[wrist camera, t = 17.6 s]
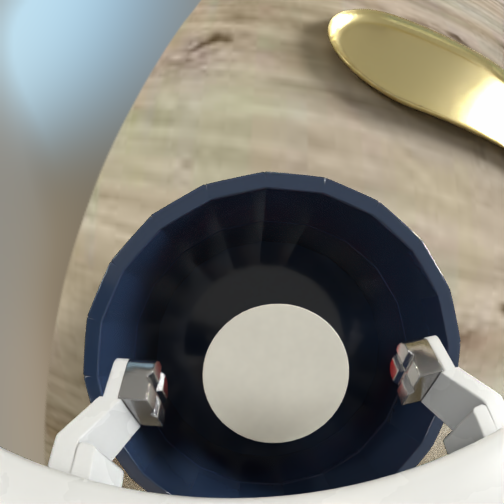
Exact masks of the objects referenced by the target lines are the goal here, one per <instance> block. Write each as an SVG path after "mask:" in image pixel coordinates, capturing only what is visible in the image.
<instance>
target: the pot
mask: <svg viewBox="0 0 504 504" xmlns="http://www.w3.org/2000/svg"><path fill="white" fill-rule="evenodd" d="M151 216H152V217H149V218H148V220H147V221H146V222H145V223H144V224H143V225H142V226H141V227H140V228H139V229H138V230H137V232H136V233H135V234H134V235H133V236H132V237H131V238H130V239H129V241H128V242H127V243H126V244H125V245H124V246H123V247H122V249H121V250H120V251H119V252H118V253H117V254H116V256H115V257H114V258H113V259H112V261H111V262H110V263H109V266H108V268H107V270H106V272H105V275H104V277H103V279H102V282H101V284H100V286H99V289H98V291H97V293H96V296H95V298H94V301H93V303H92V306H91V308H90V311H89V313H88V318H87V323H86V335H85V350H84V373H83V374H84V380H85V384H86V388H87V392H88V396H89V399H90V403H92V402H93V401H94V400H96V399H97V398H98V397H99V396H102V397H103V394H104V391H105V388H106V385H107V381H108V378H109V375H110V372H111V369H112V366H113V363H114V361H115V360H116V359H117V358H123V359H136V360H151V361H159V362H160V364H161V366H162V369H161V372H162V373H163V374H165V376H166V378H167V382H168V397H167V400H166V401H165V402H164V403H163V404H162V405H163V407H164V409H165V410H166V411H165V417H164V424H163V426H147V425H140V428H139V429H138V430H137V431H136V432H135V434H134V435H133V436H132V437H131V438H130V440H129V441H128V442H127V443H126V445H125V446H124V447H123V448H122V449H121V451H120V452H119V453H118V454H117V455H116V458H117V460H118V461H119V463H120V464H121V466H122V467H123V468H124V470H125V471H126V472H127V474H128V475H129V476H130V478H131V479H133V481H135V482H136V483H137V484H138V485H140V486H141V487H142V488H143V489H145V490H146V491H147V492H152V493H159V494H168V495H177V496H189V497H205V498H257V497H274V496H285V495H295V494H303V493H311V492H317V491H324V490H329V489H335V488H340V487H345V486H350V485H354V484H359V483H363V482H367V481H371V480H375V479H379V478H382V477H386V476H389V475H393V474H396V473H399V472H402V471H405V470H408V469H411V468H414V467H416V466H417V465H418V464H419V462H420V461H421V460H422V459H423V458H424V456H425V455H426V454H427V453H428V452H429V450H430V449H431V447H432V446H433V444H434V442H435V440H436V438H437V436H438V434H439V431H440V429H441V427H442V425H443V423H444V422H443V421H442V420H440V419H439V418H438V417H437V416H436V415H435V414H434V413H433V412H432V411H431V410H429V409H428V408H427V407H426V406H425V405H424V404H423V403H422V402H421V401H418V402H414V403H410V404H406V405H402V404H401V402H400V399H399V396H398V394H397V388H398V385H397V384H396V383H394V382H393V381H392V378H391V375H390V362H391V359H392V357H393V356H394V355H396V354H397V351H396V348H397V346H398V344H399V343H400V342H404V341H409V340H414V339H418V338H425V337H429V336H434V335H436V336H437V337H438V338H439V340H440V341H441V343H442V345H443V347H444V348H445V350H446V352H447V354H448V355H449V357H450V359H451V361H452V363H453V364H454V366H455V368H456V367H458V363H459V353H460V336H459V330H458V325H457V319H456V314H455V310H454V305H453V300H452V296H451V292H450V288H449V286H448V285H447V283H446V281H445V279H444V277H443V275H442V273H441V272H440V270H439V268H438V266H437V265H436V263H435V261H434V259H433V258H432V256H431V254H430V253H429V251H428V249H427V247H426V246H425V244H424V243H423V241H422V240H421V239H420V238H419V237H418V236H417V235H416V234H415V233H414V232H413V231H412V230H411V229H410V228H409V227H408V226H406V225H405V224H404V223H403V222H402V221H401V220H400V219H399V218H398V217H396V216H395V215H394V214H393V213H392V212H391V211H390V210H388V209H387V208H386V207H385V206H384V205H383V204H382V203H380V202H379V203H378V201H377V200H375V199H373V198H371V197H369V196H366V195H364V194H362V193H360V192H358V191H355V190H353V189H351V188H348V187H346V186H344V185H342V184H339V183H337V182H335V181H332V180H330V179H327V178H324V177H317V176H308V175H299V174H289V173H278V172H261V173H256V174H251V175H246V176H241V177H236V178H232V179H227V180H222V181H218V182H214V183H209V184H206V185H202V186H200V187H199V188H197V189H195V190H193V191H191V192H190V193H188V194H186V195H184V196H183V197H181V198H179V199H178V200H176V201H174V202H172V203H171V204H169V205H167V206H166V207H164V208H162V209H160V210H159V211H157V212H155V213H154V214H152V215H151ZM268 304H288V305H294V306H298V307H301V308H304V309H307V310H309V311H311V312H313V313H315V314H317V315H318V316H320V317H321V318H322V319H324V320H325V321H326V322H327V323H328V324H329V325H330V326H331V327H332V328H333V329H334V330H335V331H336V333H337V334H338V336H339V337H340V339H341V341H342V343H343V345H344V347H345V350H346V354H347V357H348V364H349V379H348V385H347V389H346V393H345V395H344V398H343V400H342V402H341V404H340V406H339V407H338V409H337V411H336V412H335V413H334V414H333V416H332V417H331V418H330V419H329V420H328V421H327V422H326V423H325V424H324V425H323V426H321V427H320V428H319V429H317V430H316V431H314V432H313V433H311V434H309V435H307V436H305V437H302V438H300V439H296V440H293V441H289V442H283V443H265V442H259V441H254V440H251V439H248V438H245V437H243V436H241V435H239V434H237V433H235V432H234V431H232V430H231V429H229V428H228V427H227V426H226V425H225V424H224V423H222V422H221V420H220V419H219V418H218V417H217V416H216V414H215V413H214V412H213V410H212V409H211V407H210V405H209V403H208V401H207V398H206V395H205V392H204V386H203V374H202V373H203V364H204V360H205V356H206V353H207V350H208V348H209V345H210V344H211V342H212V340H213V338H214V337H215V336H216V334H217V333H218V332H219V330H220V329H221V328H222V327H223V326H224V325H225V324H226V323H227V322H229V321H230V320H231V319H233V318H234V317H235V316H237V315H239V314H240V313H242V312H244V311H247V310H249V309H251V308H255V307H258V306H262V305H268Z"/></svg>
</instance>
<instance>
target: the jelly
mask: <svg viewBox="0 0 504 504" xmlns="http://www.w3.org/2000/svg"><path fill="white" fill-rule="evenodd" d="M202 374H203V386H204V392H205V395H206V398H207V401H208V403H209V405H210V407H211V409H212V410H213V412H214V413H215V414H216V416H217V417H218V418H219V419H220V420H221V422H222V423H224V424H225V425H226V426H227V427H228V428H229V429H231V430H232V431H234V432H235V433H237V434H239V435H241V436H243V437H245V438H248V439H251V440H254V441H259V442H265V443H283V442H289V441H293V440H296V439H300V438H302V437H305V436H307V435H309V434H311V433H313V432H314V431H316V430H317V429H319V428H320V427H321V426H323V425H324V424H325V423H326V422H327V421H328V420H329V419H330V418H331V417H332V416H333V414H334V413H335V412H336V411H337V409H338V407H339V406H340V404H341V402H342V400H343V398H344V395H345V393H346V389H347V385H348V379H349V364H348V357H347V354H346V350H345V347H344V345H343V343H342V341H341V339H340V337H339V336H338V334H337V333H336V331H335V330H334V329H333V328H332V327H331V326H330V325H329V324H328V323H327V322H326V321H325V320H324V319H322V318H321V317H320V316H318V315H317V314H315V313H313V312H311V311H309V310H307V309H304V308H301V307H298V306H294V305H288V304H268V305H262V306H258V307H255V308H251V309H249V310H247V311H244V312H242V313H240V314H239V315H237V316H235V317H234V318H233V319H231V320H230V321H229V322H227V323H226V324H225V325H224V326H223V327H222V328H221V329H220V330H219V332H218V333H217V334H216V336H215V337H214V338H213V340H212V342H211V344H210V345H209V348H208V350H207V353H206V356H205V360H204V364H203V373H202Z"/></svg>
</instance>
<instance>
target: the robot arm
mask: <svg viewBox="0 0 504 504" xmlns="http://www.w3.org/2000/svg"><path fill="white" fill-rule="evenodd" d="M396 351H397V354H396V355H394V356H393V357H392V359H391V362H390V375H391V378H392V381H393V382H394V383H396V384H397V385H398V388H397V394H398V396H399V399H400V402H401V404H402V405H406V404H410V403H414V402H418V401H421V402H422V403H423V404H424V405H425V406H426V407H427V408H428V409H429V410H431V411H432V412H433V413H434V414H435V415H436V416H437V417H438V418H439V419H440V420H442V421H443V422H444V423H445V424H446V425H447V426H448V427H449V428H450V429H451V430H452V431H451V432H450V433H449V434H448V435H447V436H446V437H445V439H444V441H443V442H444V445H445V448H446V451H447V454H448V455H446V456H443V457H441V458H438V459H436V460H433V461H431V462H428V463H425V464H423V465H420V466H417V467H414V468H411V469H408V470H405V471H402V472H399V473H396V474H393V475H389V476H386V477H382V478H379V479H375V480H371V481H367V482H363V483H359V484H354V485H350V486H345V487H340V488H335V489H329V490H324V491H317V492H311V493H303V494H295V495H285V496H274V497H257V498H205V497H189V496H177V495H168V494H159V493H152V492H145V491H139V490H133V489H128V488H123V487H122V483H123V476H124V472H123V470H122V469H121V468H120V467H118V466H117V465H116V464H115V463H113V462H112V460H113V459H114V458H115V457H116V455H117V454H118V453H119V452H120V451H121V449H122V448H123V447H124V446H125V445H126V443H127V442H128V441H129V440H130V438H131V437H132V436H133V435H134V434H135V432H136V431H137V430H138V429H139V428H140V425H147V426H163V424H164V417H165V411H166V410H165V409H164V407H163V405H162V404H163V403H164V402H165V401H166V400H167V397H168V382H167V378H166V376H165V374H163V373H162V372H161V369H162V366H161V364H160V362H159V361H151V360H136V359H123V358H117V359H116V360H115V361H114V363H113V366H112V369H111V372H110V375H109V378H108V381H107V385H106V388H105V391H104V394H103V397H102V396H99V397H98V398H97V399H96V400H94V401H93V402H92V403H91V404H90V405H89V406H88V407H87V408H85V409H84V410H83V411H82V412H81V413H80V414H79V415H78V416H77V417H75V418H74V419H73V420H72V421H71V422H70V423H69V424H68V425H66V426H65V427H64V428H63V429H62V430H61V431H60V432H59V433H58V434H57V435H56V438H55V441H54V445H53V448H52V452H51V455H50V459H49V462H48V466H45V465H42V464H39V463H37V462H34V461H32V460H29V459H27V458H25V457H22V456H20V455H17V454H15V453H13V452H11V451H8V450H6V449H4V448H2V447H0V504H504V401H503V399H502V397H501V395H500V394H499V393H497V392H496V391H494V390H493V389H491V388H490V387H488V386H487V385H485V384H484V383H482V382H481V381H479V380H478V379H476V378H474V377H473V376H471V375H470V374H468V373H467V372H465V371H464V370H462V369H461V368H459V367H456V368H455V366H454V364H453V363H452V361H451V359H450V357H449V355H448V354H447V352H446V350H445V348H444V347H443V345H442V343H441V341H440V340H439V338H438V337H437V336H436V335H434V336H429V337H425V338H418V339H414V340H409V341H404V342H400V343H399V344H398V346H397V348H396Z"/></svg>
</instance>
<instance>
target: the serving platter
mask: <svg viewBox="0 0 504 504" xmlns="http://www.w3.org/2000/svg"><path fill="white" fill-rule="evenodd" d="M328 37H329V40H330V43H331V45H332V47H333V49H334V50H335V52H336V53H337V55H338V56H339V57H340V59H341V60H342V61H343V62H344V63H345V64H346V65H347V66H348V68H349V69H351V70H352V71H353V72H354V73H355V74H356V75H357V76H358V77H360V78H361V79H362V80H363V81H365V82H366V83H367V84H369V85H370V86H372V87H373V88H375V89H376V90H378V91H379V92H381V93H382V94H384V95H386V96H388V97H389V98H391V99H393V100H395V101H397V102H399V103H401V104H404V105H406V106H408V107H411V108H413V109H416V110H419V111H421V112H424V113H427V114H429V115H432V116H434V117H437V118H439V119H442V120H444V121H447V122H449V123H451V124H454V125H456V126H458V127H461V128H463V129H465V130H467V131H469V132H471V133H474V134H476V135H478V136H480V137H482V138H484V139H486V140H488V141H490V142H492V143H494V144H496V145H497V146H499V147H501V148H503V149H504V70H503V69H502V68H501V67H499V66H498V65H497V64H495V63H494V62H492V61H491V60H489V59H488V58H486V57H484V56H483V55H481V54H479V53H477V52H476V51H474V50H472V49H470V48H468V47H466V46H464V45H463V44H461V43H459V42H457V41H455V40H453V39H451V38H449V37H447V36H444V35H442V34H440V33H438V32H436V31H433V30H431V29H429V28H427V27H424V26H422V25H419V24H417V23H414V22H412V21H409V20H407V19H404V18H401V17H398V16H396V15H393V14H389V13H386V12H382V11H377V10H370V9H353V10H347V11H344V12H341V13H339V14H337V15H336V16H334V17H333V18H332V19H331V21H330V22H329V25H328Z"/></svg>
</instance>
